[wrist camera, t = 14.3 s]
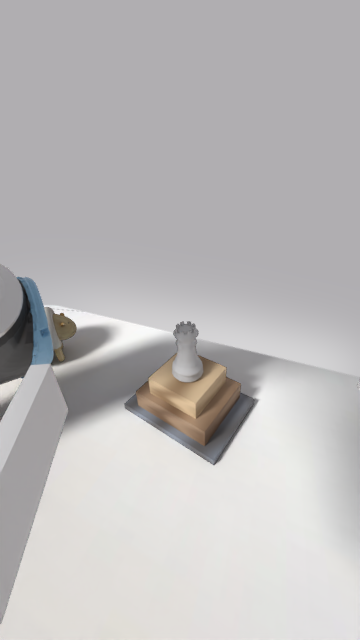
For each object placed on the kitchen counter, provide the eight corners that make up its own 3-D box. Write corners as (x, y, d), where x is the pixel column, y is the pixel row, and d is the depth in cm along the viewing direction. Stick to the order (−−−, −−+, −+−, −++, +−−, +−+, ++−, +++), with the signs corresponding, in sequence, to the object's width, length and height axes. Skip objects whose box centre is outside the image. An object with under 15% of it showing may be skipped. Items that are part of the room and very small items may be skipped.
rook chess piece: (183, 358, 43) (181, 313, 39) (209, 369, 41) (209, 323, 37) (165, 376, 40) (160, 329, 36) (192, 389, 38) (190, 341, 34)
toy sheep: (86, 362, 54) (71, 312, 48) (-14, 393, 49) (-45, 341, 43) (78, 333, 63) (65, 288, 57) (-8, 357, 57) (-33, 309, 51)
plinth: (125, 408, 45) (117, 375, 41) (172, 364, 53) (169, 334, 49) (213, 465, 36) (214, 430, 33) (253, 403, 44) (258, 369, 41)
